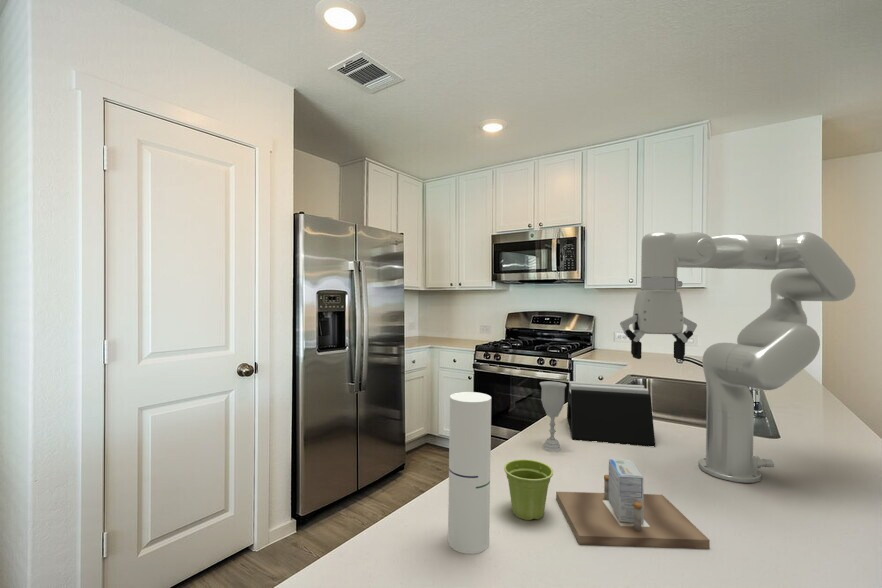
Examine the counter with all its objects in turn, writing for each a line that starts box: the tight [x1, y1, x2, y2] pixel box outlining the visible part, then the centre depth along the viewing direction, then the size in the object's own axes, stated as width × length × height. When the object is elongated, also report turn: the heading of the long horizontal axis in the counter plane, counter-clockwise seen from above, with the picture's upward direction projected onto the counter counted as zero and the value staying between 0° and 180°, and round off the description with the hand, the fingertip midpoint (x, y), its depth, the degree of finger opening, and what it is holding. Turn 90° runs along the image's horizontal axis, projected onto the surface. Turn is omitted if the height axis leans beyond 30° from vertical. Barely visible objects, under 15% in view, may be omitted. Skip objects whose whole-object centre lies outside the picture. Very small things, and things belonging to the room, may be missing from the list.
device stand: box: [566, 380, 656, 448], centre depth 132 cm, size 22×22×15 cm
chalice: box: [539, 380, 567, 453], centre depth 116 cm, size 7×7×18 cm
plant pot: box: [503, 458, 554, 521], centre depth 82 cm, size 9×9×9 cm
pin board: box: [555, 474, 711, 550], centre depth 79 cm, size 22×16×6 cm
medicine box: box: [608, 458, 645, 524], centre depth 79 cm, size 8×4×9 cm, turn 171°
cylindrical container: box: [447, 391, 492, 555], centre depth 72 cm, size 7×7×25 cm
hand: (657, 358), depth 98 cm, fingers open, 9 cm apart
